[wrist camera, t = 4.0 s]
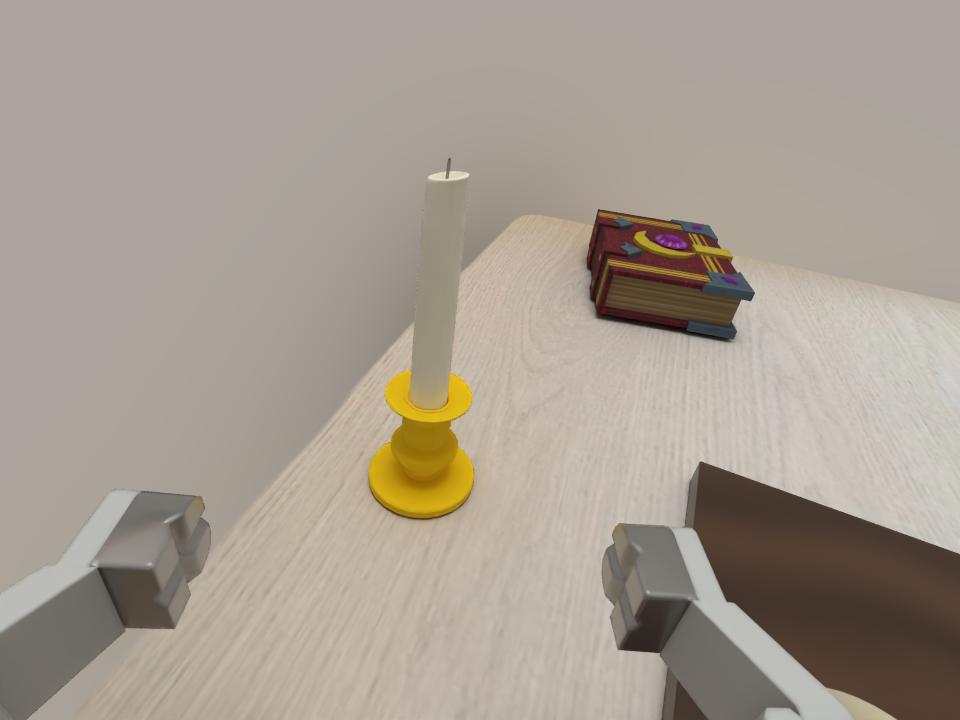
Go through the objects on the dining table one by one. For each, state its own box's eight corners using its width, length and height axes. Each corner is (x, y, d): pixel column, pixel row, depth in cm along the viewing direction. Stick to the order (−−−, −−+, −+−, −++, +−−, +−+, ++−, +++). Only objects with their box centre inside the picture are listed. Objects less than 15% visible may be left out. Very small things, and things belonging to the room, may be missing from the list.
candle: (347, 494, 25) (340, 155, 17) (399, 429, 30) (415, 130, 21) (448, 535, 24) (497, 193, 16) (487, 461, 28) (543, 158, 20)
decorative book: (592, 318, 43) (608, 261, 40) (584, 244, 56) (596, 197, 54) (733, 343, 43) (759, 286, 40) (691, 262, 56) (709, 216, 53)
